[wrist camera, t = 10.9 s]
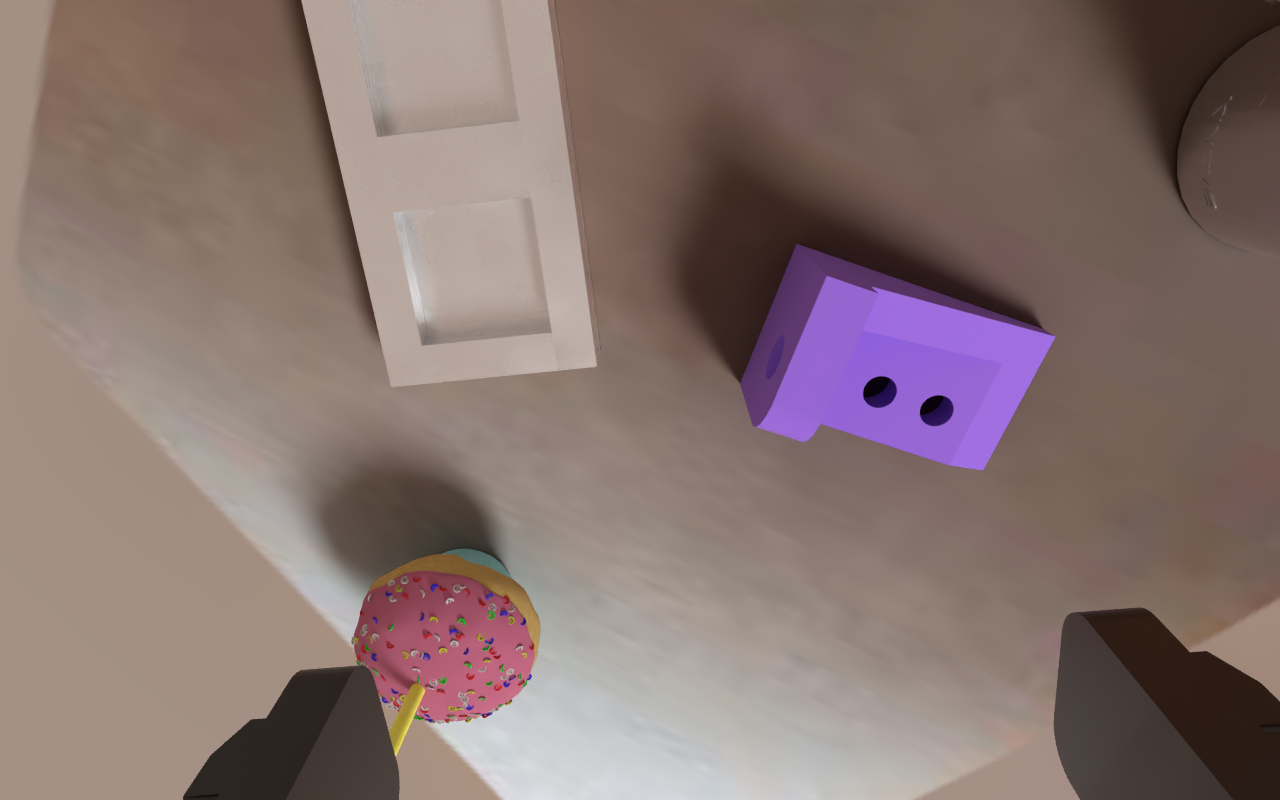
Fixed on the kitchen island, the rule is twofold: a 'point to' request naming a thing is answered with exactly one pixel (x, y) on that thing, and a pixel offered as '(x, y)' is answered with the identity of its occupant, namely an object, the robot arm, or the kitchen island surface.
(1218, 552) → the kitchen island surface
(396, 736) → the cupcake
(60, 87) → the kitchen island surface
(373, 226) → the white compartment tray
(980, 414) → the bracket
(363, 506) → the kitchen island surface
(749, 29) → the kitchen island surface
